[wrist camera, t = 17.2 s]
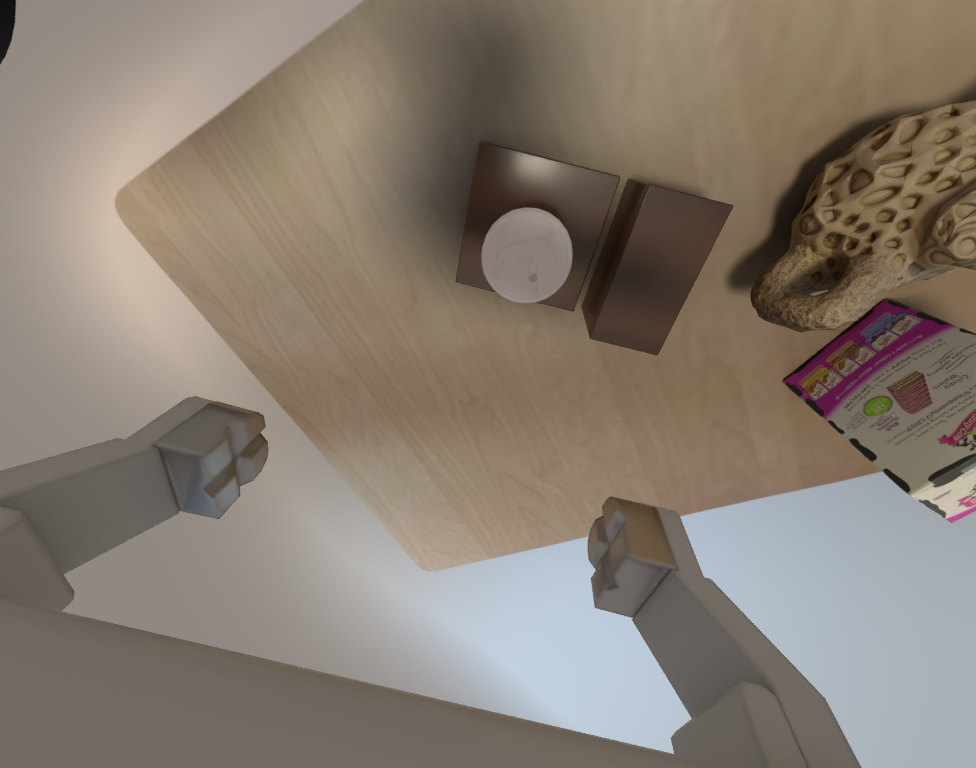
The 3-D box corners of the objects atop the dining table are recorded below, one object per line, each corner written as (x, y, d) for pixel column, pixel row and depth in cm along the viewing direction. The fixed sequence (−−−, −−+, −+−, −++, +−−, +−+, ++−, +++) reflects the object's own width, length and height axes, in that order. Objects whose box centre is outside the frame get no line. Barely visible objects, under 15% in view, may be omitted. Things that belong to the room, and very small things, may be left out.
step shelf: (482, 142, 33) (467, 138, 26) (694, 195, 33) (734, 205, 26) (459, 276, 39) (441, 301, 33) (637, 321, 40) (657, 355, 33)
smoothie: (554, 277, 36) (561, 336, 24) (488, 262, 36) (462, 314, 24) (574, 204, 33) (594, 231, 21) (502, 188, 33) (480, 206, 21)
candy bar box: (813, 403, 42) (950, 527, 28) (780, 381, 41) (904, 497, 27) (922, 323, 36) (1161, 427, 22) (886, 295, 36) (1112, 385, 21)
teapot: (979, 17, 26) (1402, -118, 13) (1029, 156, 29) (1408, 156, 17) (688, 244, 35) (771, 294, 23) (751, 331, 39) (855, 417, 26)
